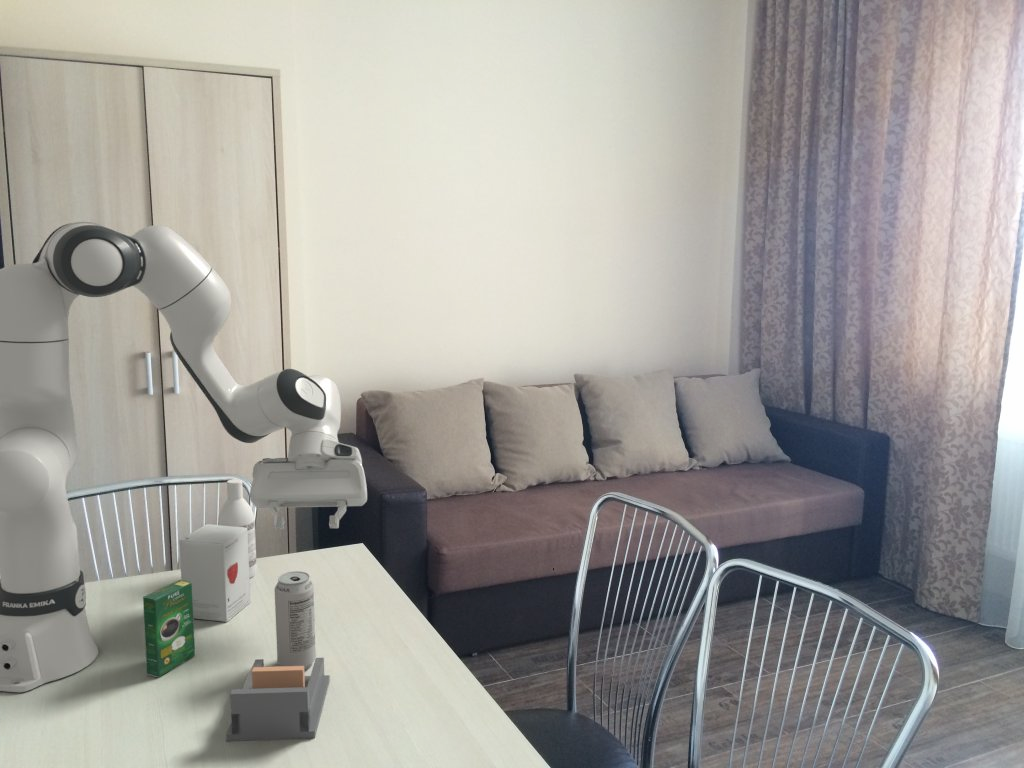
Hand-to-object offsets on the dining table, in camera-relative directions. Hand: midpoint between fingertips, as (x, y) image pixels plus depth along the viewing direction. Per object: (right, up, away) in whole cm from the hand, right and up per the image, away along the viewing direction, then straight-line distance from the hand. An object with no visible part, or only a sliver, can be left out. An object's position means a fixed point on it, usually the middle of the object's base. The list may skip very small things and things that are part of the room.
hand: (306, 527), depth 145 cm
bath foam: (-20, -14, +26) cm, 36 cm away
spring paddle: (+2, -22, -23) cm, 32 cm away
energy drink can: (+1, -21, -9) cm, 23 cm away
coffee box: (-19, -21, -9) cm, 30 cm away
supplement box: (-19, -17, +10) cm, 28 cm away
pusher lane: (+2, -23, -22) cm, 32 cm away
